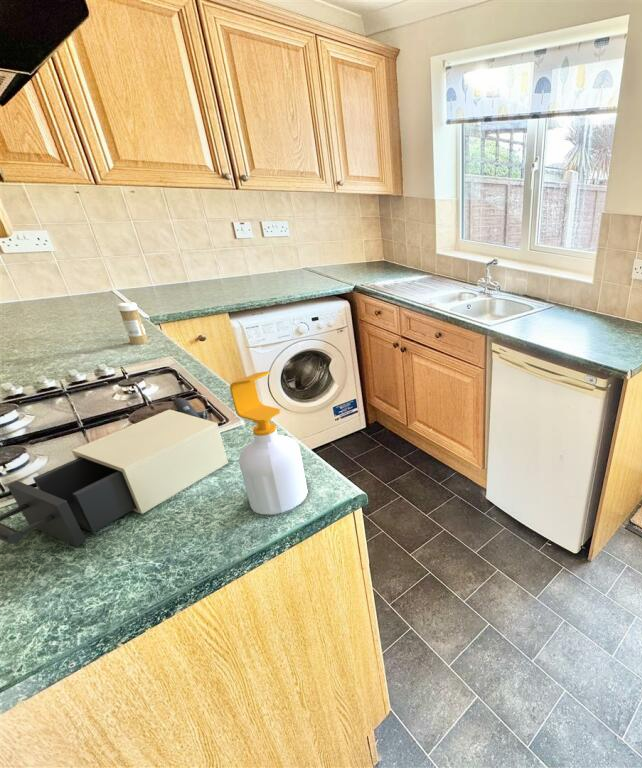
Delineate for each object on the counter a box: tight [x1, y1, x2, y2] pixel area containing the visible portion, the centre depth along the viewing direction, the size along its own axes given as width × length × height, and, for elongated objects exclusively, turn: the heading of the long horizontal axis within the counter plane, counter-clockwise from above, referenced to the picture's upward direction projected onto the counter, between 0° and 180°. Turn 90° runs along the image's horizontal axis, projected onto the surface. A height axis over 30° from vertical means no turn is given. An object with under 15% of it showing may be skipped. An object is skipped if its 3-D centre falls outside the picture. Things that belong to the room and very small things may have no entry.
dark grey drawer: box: [0, 457, 137, 548], centre depth 66 cm, size 20×11×8 cm, turn 161°
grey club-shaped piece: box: [173, 397, 210, 420], centre depth 94 cm, size 18×7×6 cm, turn 43°
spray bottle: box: [229, 370, 308, 516], centre depth 70 cm, size 9×9×25 cm
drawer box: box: [71, 409, 229, 515], centre depth 76 cm, size 16×13×10 cm
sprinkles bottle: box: [116, 301, 149, 346], centre depth 133 cm, size 5×5×14 cm
